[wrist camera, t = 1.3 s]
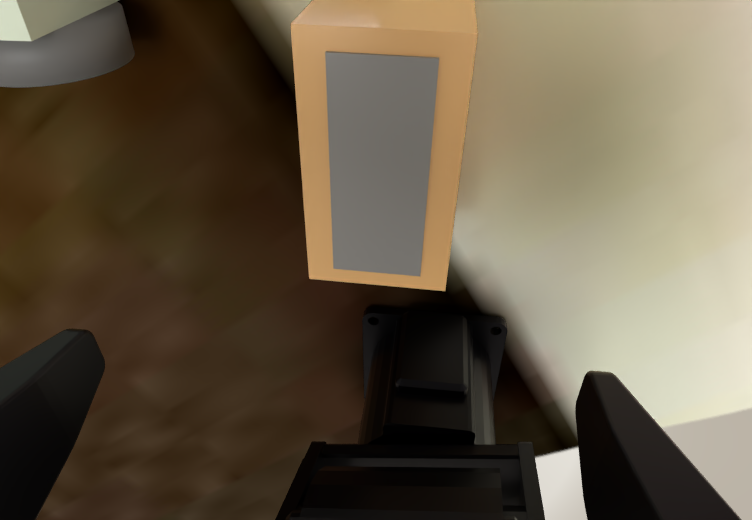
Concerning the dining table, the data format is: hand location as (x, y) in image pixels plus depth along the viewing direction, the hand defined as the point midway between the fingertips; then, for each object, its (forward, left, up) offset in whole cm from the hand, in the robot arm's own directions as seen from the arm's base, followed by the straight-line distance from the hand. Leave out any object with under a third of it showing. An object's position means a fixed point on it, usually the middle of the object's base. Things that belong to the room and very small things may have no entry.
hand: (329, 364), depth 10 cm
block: (0, 0, -12) cm, 12 cm away
